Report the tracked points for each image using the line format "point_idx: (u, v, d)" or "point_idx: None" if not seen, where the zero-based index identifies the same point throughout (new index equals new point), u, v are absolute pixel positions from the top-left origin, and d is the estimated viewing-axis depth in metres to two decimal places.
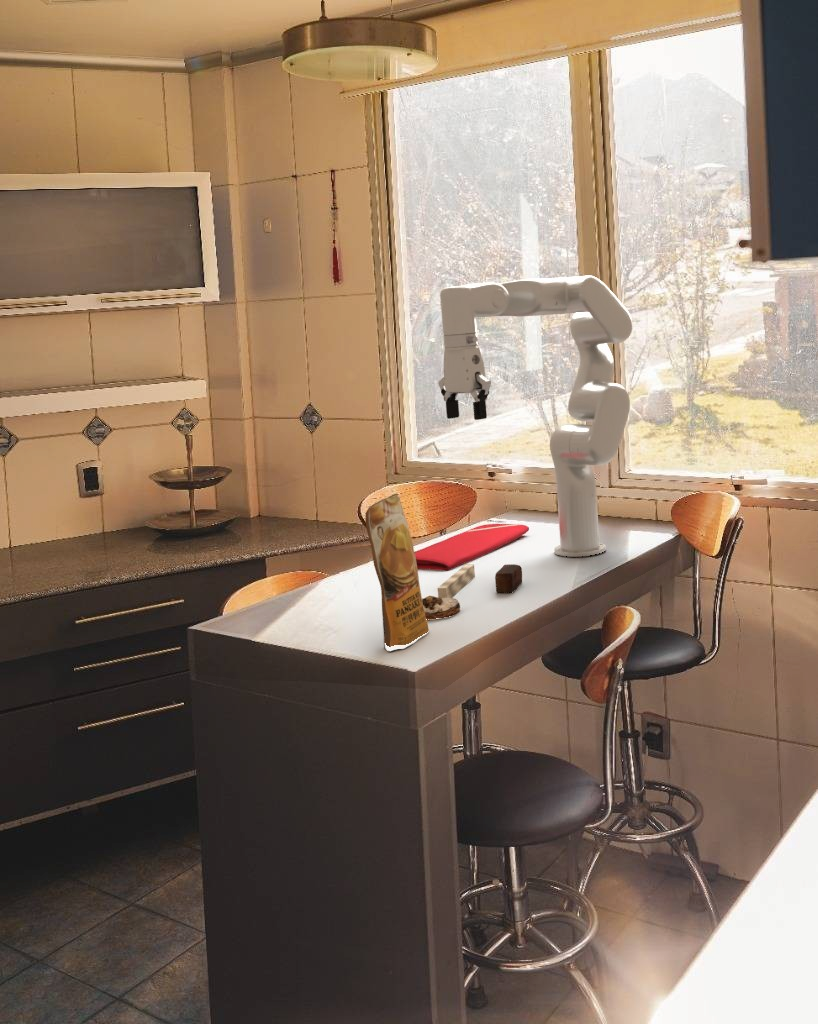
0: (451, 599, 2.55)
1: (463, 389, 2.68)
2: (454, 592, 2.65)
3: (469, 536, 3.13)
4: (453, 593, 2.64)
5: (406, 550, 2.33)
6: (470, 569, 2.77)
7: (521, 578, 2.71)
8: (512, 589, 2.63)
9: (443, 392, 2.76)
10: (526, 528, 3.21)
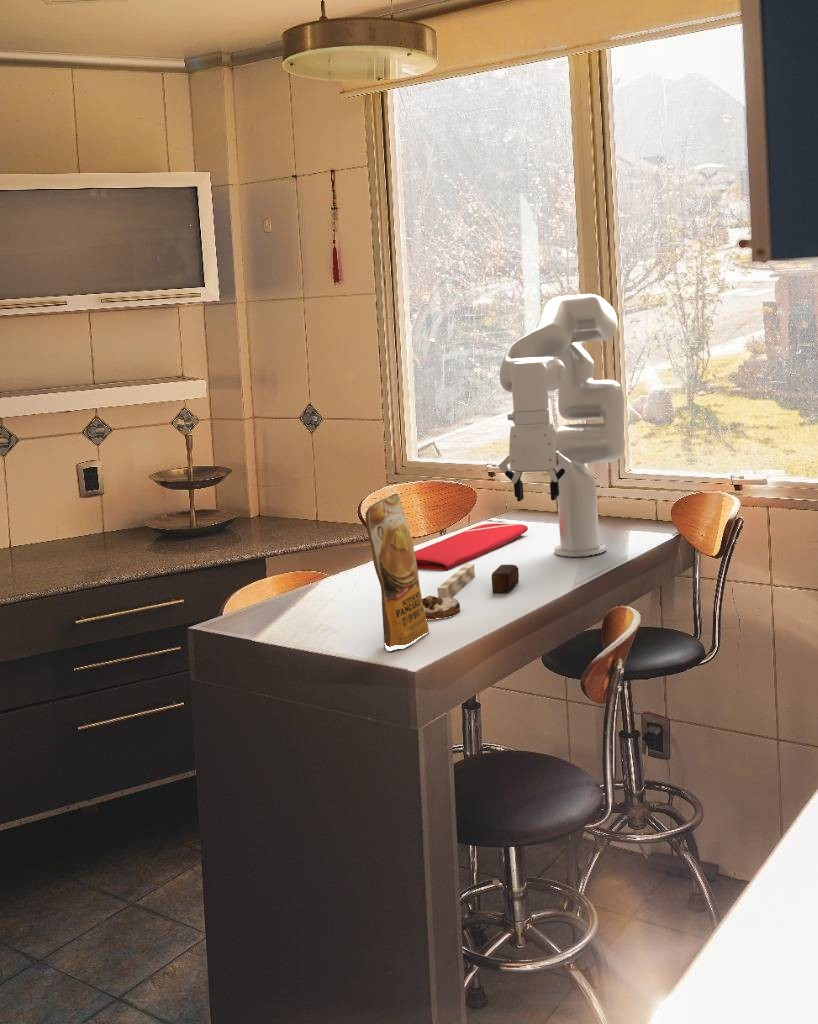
0: (451, 599, 2.55)
1: None
2: (454, 592, 2.65)
3: (468, 536, 3.14)
4: (453, 593, 2.64)
5: (406, 550, 2.33)
6: (470, 569, 2.77)
7: (518, 578, 2.71)
8: (508, 589, 2.63)
9: None
10: (525, 528, 3.21)
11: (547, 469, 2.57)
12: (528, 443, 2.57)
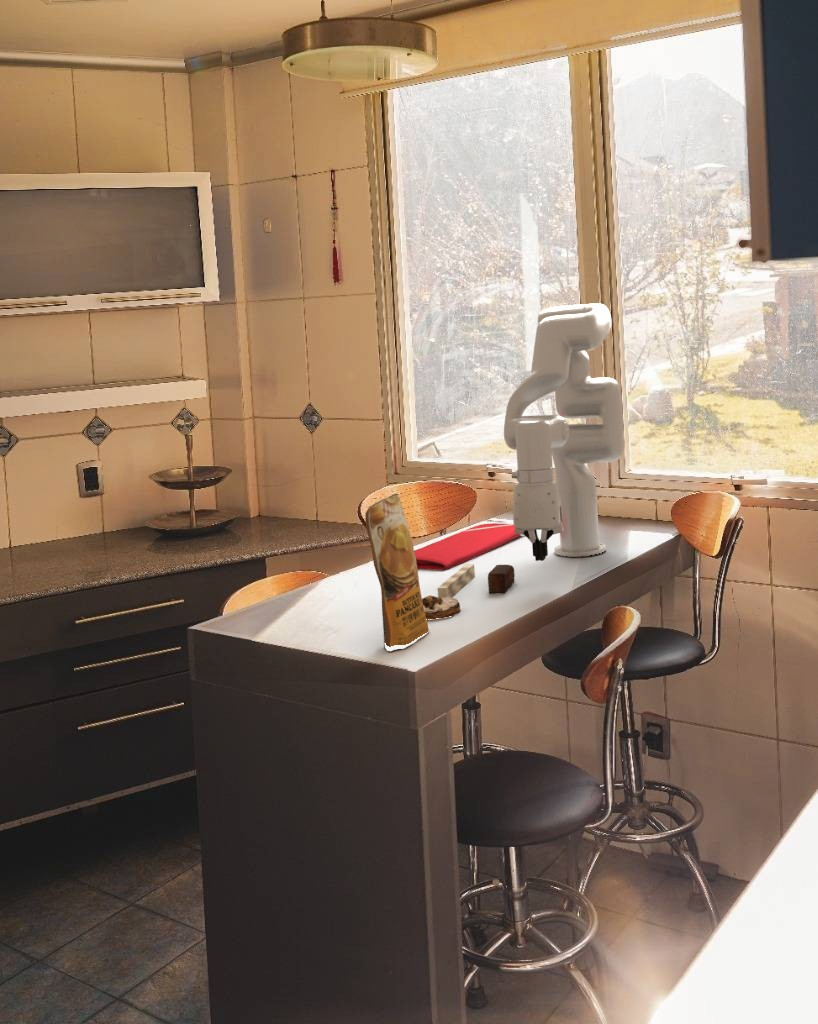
0: (451, 599, 2.55)
1: None
2: (454, 592, 2.65)
3: (467, 536, 3.14)
4: (453, 593, 2.64)
5: (406, 550, 2.33)
6: (470, 569, 2.77)
7: (513, 578, 2.71)
8: (505, 589, 2.63)
9: None
10: None
11: (551, 527, 2.59)
12: (532, 501, 2.59)
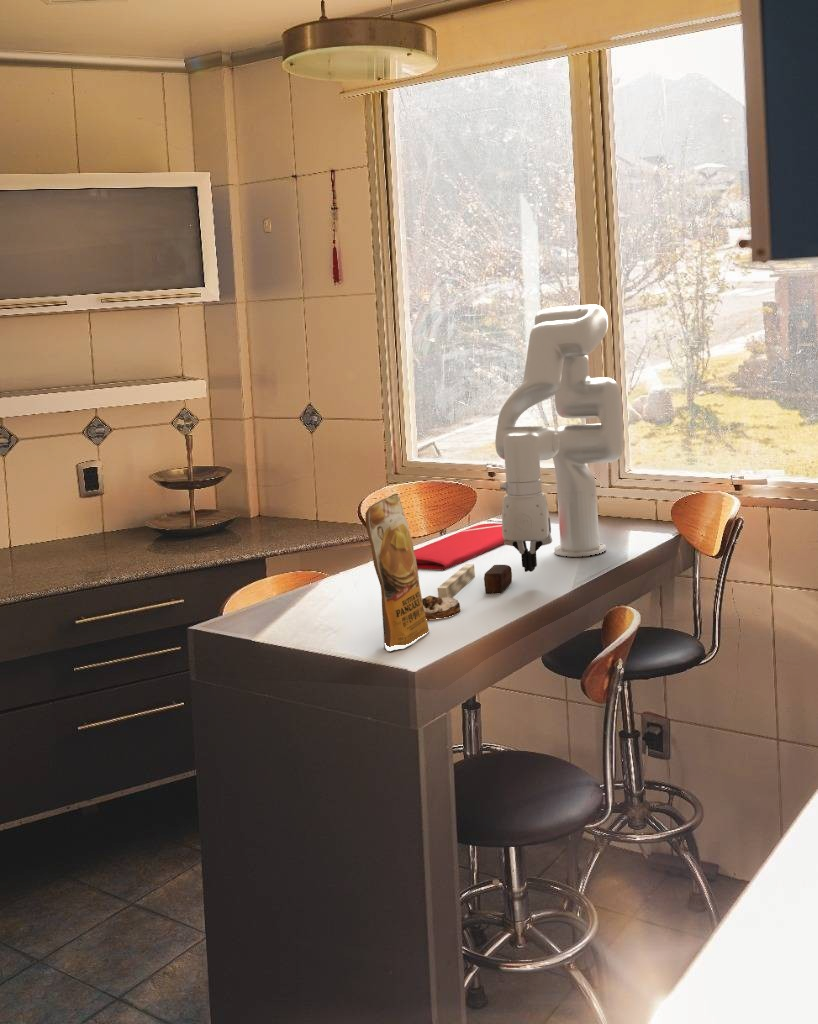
0: (451, 599, 2.55)
1: None
2: (454, 592, 2.65)
3: (465, 536, 3.14)
4: (453, 593, 2.64)
5: (406, 550, 2.33)
6: (470, 569, 2.77)
7: (511, 578, 2.71)
8: (501, 589, 2.63)
9: None
10: None
11: (539, 539, 2.60)
12: (521, 513, 2.61)
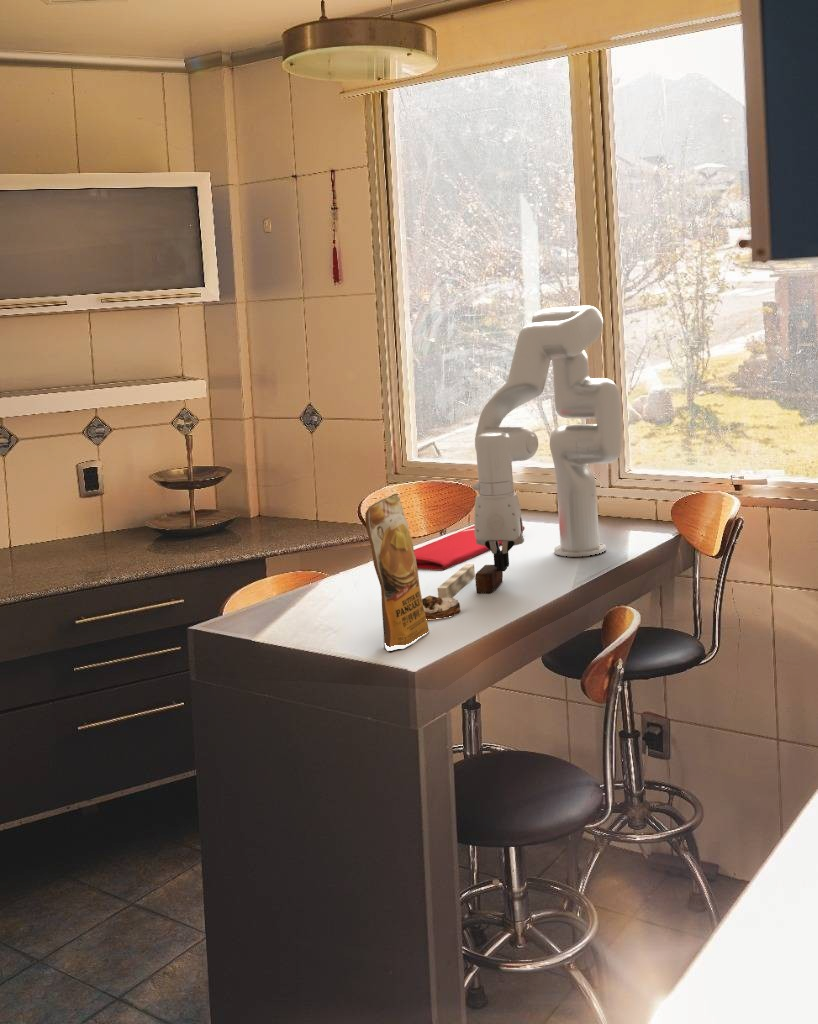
0: (451, 599, 2.55)
1: None
2: (454, 592, 2.65)
3: (465, 535, 3.14)
4: (453, 593, 2.64)
5: (406, 550, 2.33)
6: (470, 569, 2.77)
7: (501, 578, 2.72)
8: (492, 589, 2.64)
9: None
10: None
11: (511, 539, 2.62)
12: (493, 513, 2.63)
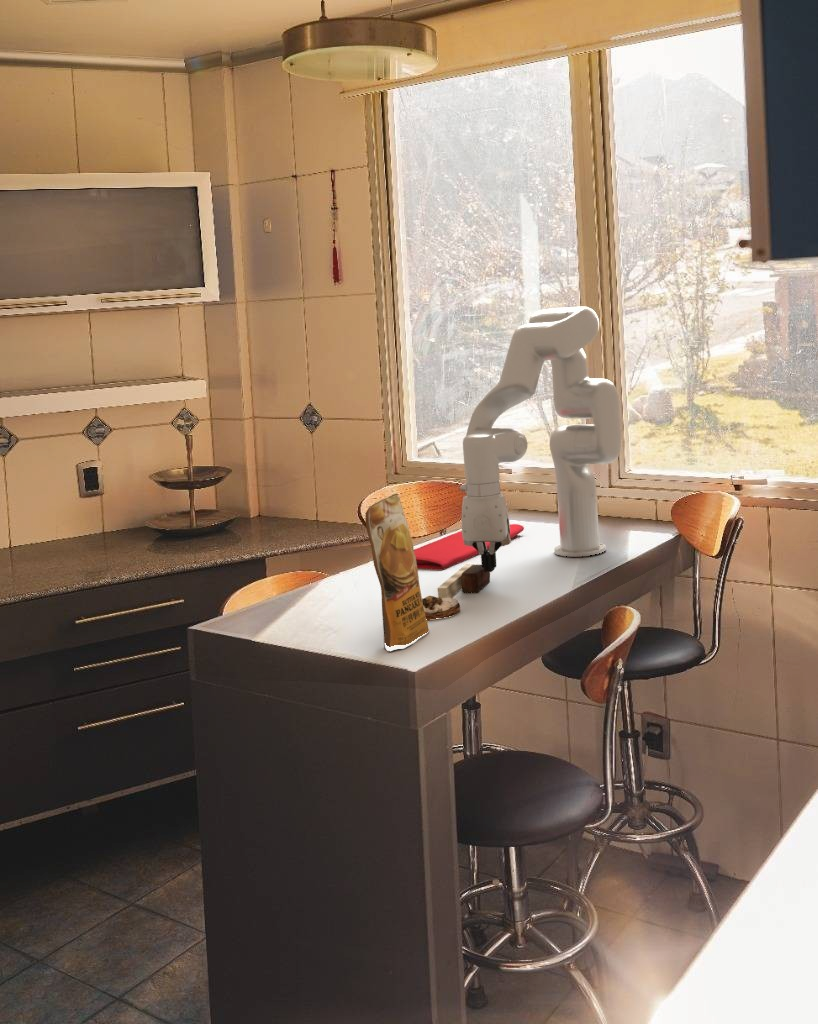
0: (451, 599, 2.55)
1: None
2: (454, 592, 2.65)
3: None
4: (453, 593, 2.64)
5: (406, 550, 2.33)
6: None
7: (489, 578, 2.73)
8: (478, 589, 2.65)
9: None
10: (521, 527, 3.22)
11: (498, 540, 2.64)
12: (479, 514, 2.64)
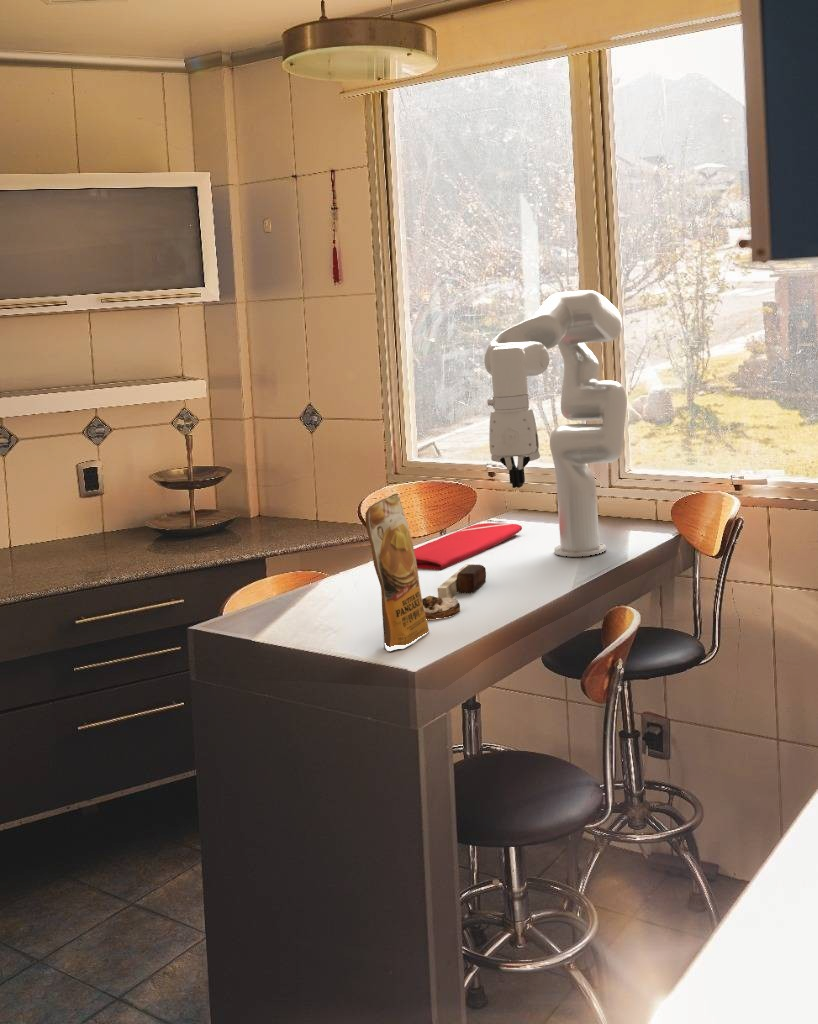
0: (451, 599, 2.55)
1: None
2: (454, 592, 2.65)
3: (462, 535, 3.15)
4: (453, 593, 2.64)
5: (406, 550, 2.33)
6: None
7: (485, 578, 2.74)
8: (473, 589, 2.66)
9: None
10: (519, 527, 3.22)
11: (527, 454, 2.59)
12: (508, 428, 2.59)
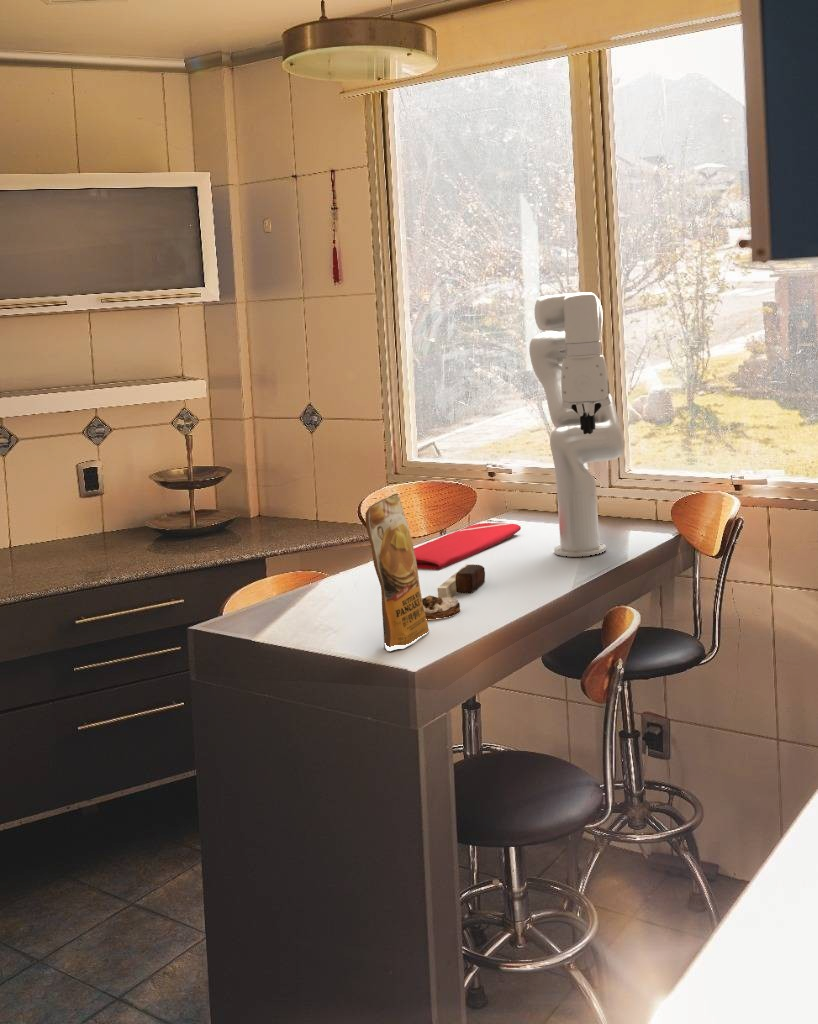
0: (451, 599, 2.55)
1: None
2: (454, 592, 2.65)
3: (461, 535, 3.15)
4: (453, 593, 2.64)
5: (406, 550, 2.33)
6: None
7: (483, 578, 2.74)
8: (472, 589, 2.66)
9: None
10: (518, 527, 3.23)
11: (599, 400, 2.64)
12: (580, 374, 2.64)
